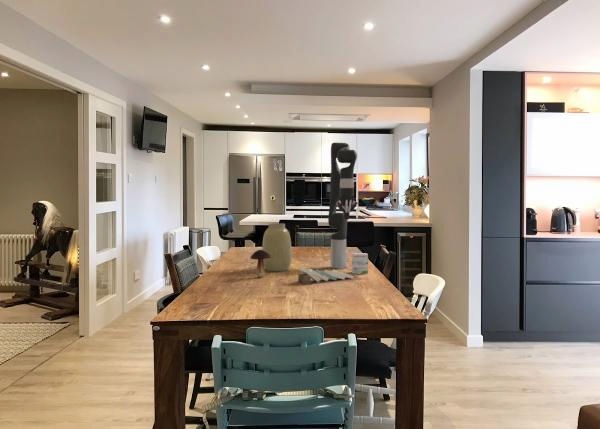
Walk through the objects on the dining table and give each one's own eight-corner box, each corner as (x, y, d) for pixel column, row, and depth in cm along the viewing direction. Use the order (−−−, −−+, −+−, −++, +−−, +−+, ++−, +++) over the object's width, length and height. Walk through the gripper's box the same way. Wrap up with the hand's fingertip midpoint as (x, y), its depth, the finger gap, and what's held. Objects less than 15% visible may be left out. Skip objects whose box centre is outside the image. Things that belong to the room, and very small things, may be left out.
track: (293, 283, 224) (293, 273, 224) (353, 277, 239) (353, 268, 238) (302, 287, 215) (302, 277, 215) (363, 281, 230) (363, 271, 229)
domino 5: (347, 277, 234) (332, 272, 230) (348, 274, 234) (333, 269, 230) (352, 279, 230) (336, 273, 226) (353, 276, 230) (337, 270, 226)
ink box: (367, 273, 249) (367, 252, 249) (368, 275, 244) (368, 254, 244) (352, 273, 250) (352, 252, 250) (352, 275, 245) (352, 253, 245)
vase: (297, 268, 266) (297, 223, 264) (280, 273, 251) (280, 225, 250) (273, 266, 275) (273, 222, 273) (256, 270, 260) (256, 224, 259)
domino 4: (339, 278, 232) (323, 272, 228) (340, 275, 232) (324, 269, 228) (344, 279, 228) (328, 274, 223) (345, 276, 228) (329, 271, 224)
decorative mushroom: (254, 280, 232) (253, 251, 231) (247, 276, 242) (247, 249, 241) (273, 278, 236) (273, 250, 235) (266, 274, 246) (266, 247, 245)
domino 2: (322, 279, 228) (307, 271, 224) (323, 276, 228) (308, 268, 224) (327, 281, 223) (311, 273, 220) (328, 278, 224) (313, 270, 220)
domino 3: (331, 278, 230) (315, 272, 226) (332, 276, 230) (316, 269, 226) (335, 280, 226) (319, 273, 222) (336, 277, 226) (321, 270, 222)
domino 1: (313, 280, 226) (299, 269, 222) (315, 277, 226) (301, 267, 223) (318, 282, 221) (304, 271, 218) (320, 279, 222) (306, 268, 218)
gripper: (339, 187, 232) (339, 220, 233) (361, 187, 238) (360, 219, 239) (332, 187, 239) (332, 219, 240) (353, 187, 245) (353, 218, 246)
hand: (346, 219), depth 240 cm, fingers closed
